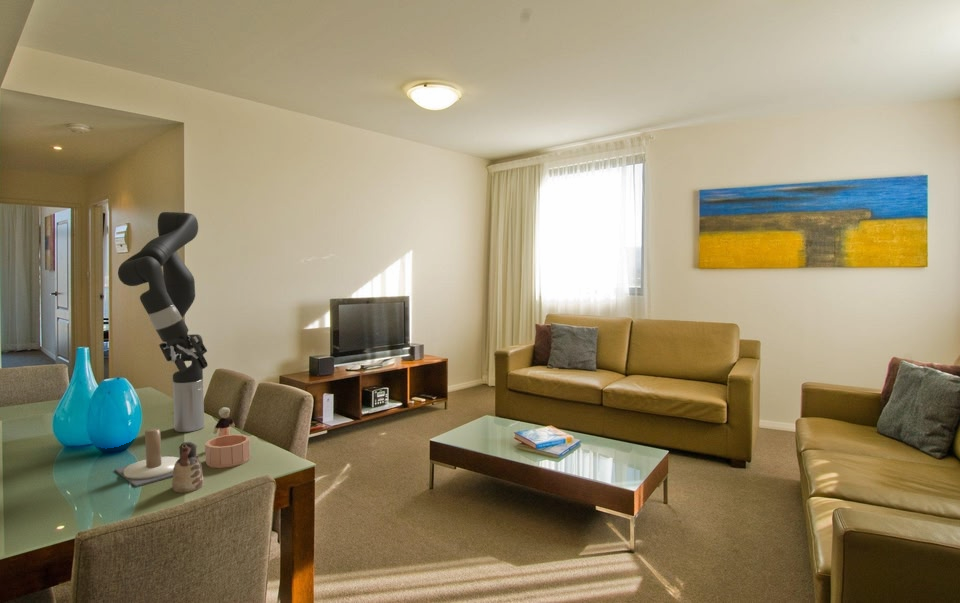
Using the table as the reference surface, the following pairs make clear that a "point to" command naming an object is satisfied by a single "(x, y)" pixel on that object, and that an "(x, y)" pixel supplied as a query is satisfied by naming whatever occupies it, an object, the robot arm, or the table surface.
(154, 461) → the cover
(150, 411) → the table surface
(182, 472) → the figurine
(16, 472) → the table surface
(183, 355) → the robot arm
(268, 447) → the table surface
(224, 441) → the bowl
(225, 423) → the grandmother figurine
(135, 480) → the mat
